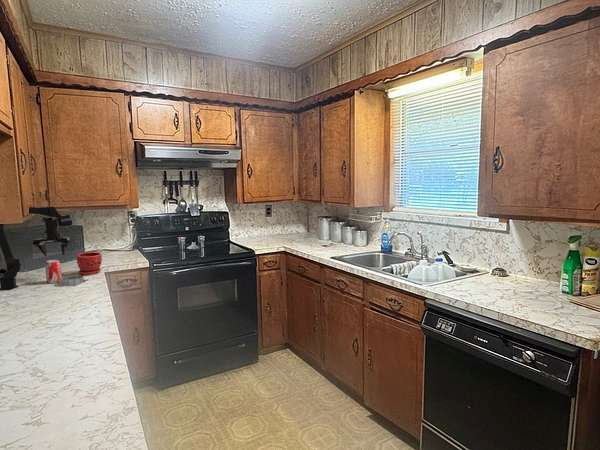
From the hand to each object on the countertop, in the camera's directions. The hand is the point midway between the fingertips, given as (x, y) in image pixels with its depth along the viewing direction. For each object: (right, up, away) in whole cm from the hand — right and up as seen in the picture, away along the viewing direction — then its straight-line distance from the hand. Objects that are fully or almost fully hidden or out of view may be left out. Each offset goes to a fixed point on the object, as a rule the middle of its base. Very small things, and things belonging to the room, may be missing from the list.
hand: (54, 255), depth 208 cm
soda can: (+4, -14, -6) cm, 16 cm away
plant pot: (+12, -12, +14) cm, 22 cm away
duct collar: (+15, -15, -8) cm, 22 cm away
